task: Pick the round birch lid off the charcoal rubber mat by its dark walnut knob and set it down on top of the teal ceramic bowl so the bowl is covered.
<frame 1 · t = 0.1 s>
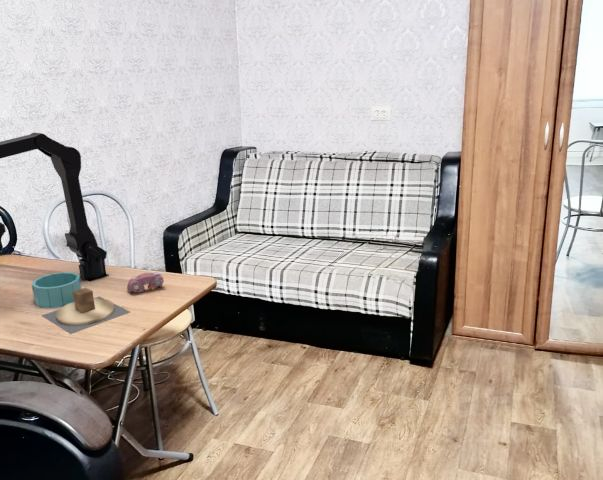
lid: (86, 313, 148), resting on mat
purple toy car: (146, 292, 163), on the table
mat: (86, 315, 148), on the table
bowl: (59, 300, 158), on the table
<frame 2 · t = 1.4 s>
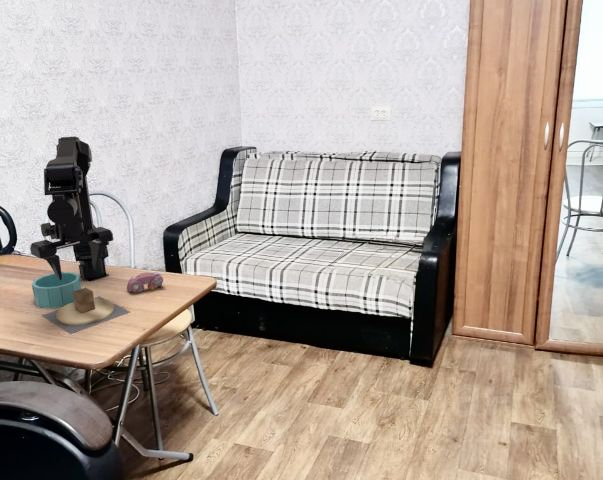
hand: (78, 274, 145), 11 cm above the table, fingers open, 9 cm apart
nothing on the table moved.
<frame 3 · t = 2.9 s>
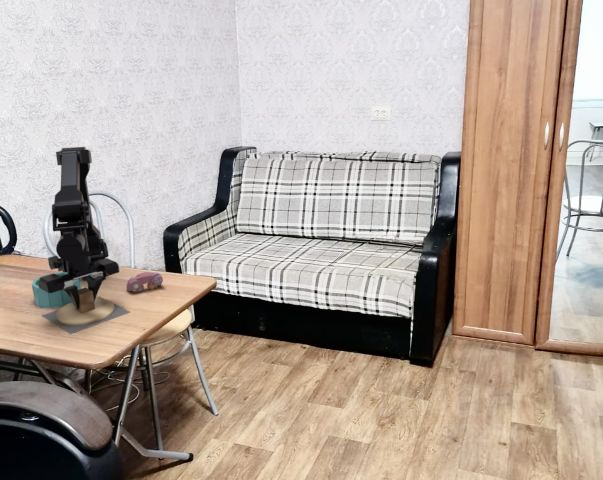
hand: (84, 306, 147), 3 cm above the table, fingers closed on lid, 3 cm apart
lid: (86, 313, 148), resting on mat, touching gripper
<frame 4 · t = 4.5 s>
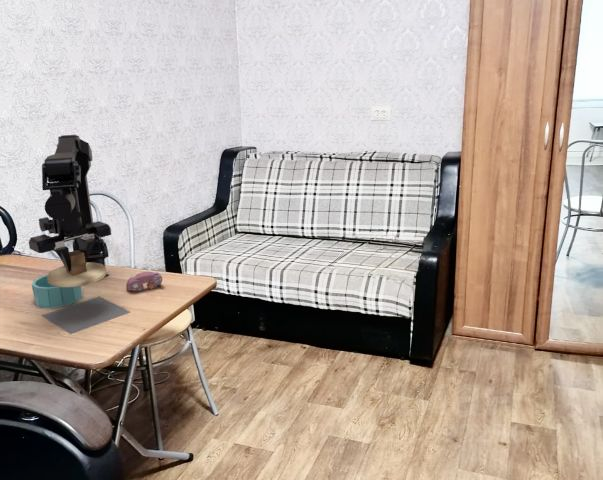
hand: (76, 268, 146), 12 cm above the table, fingers closed on lid, 3 cm apart
lid: (77, 276, 146), point 10 cm above the table, touching gripper
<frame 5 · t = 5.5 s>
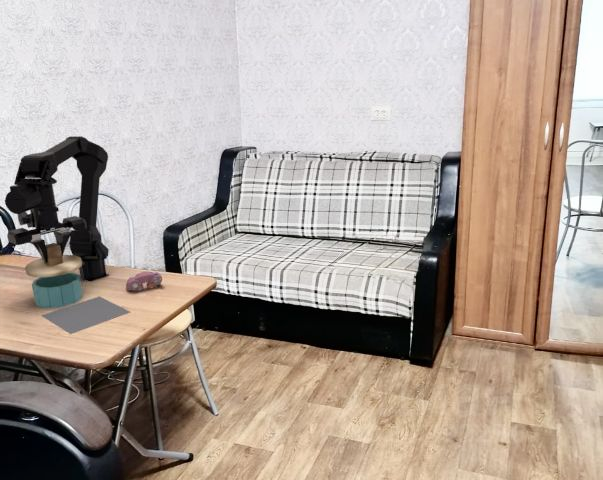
hand: (53, 260, 155), 11 cm above the table, fingers closed on lid, 3 cm apart
lid: (54, 267, 155), point 10 cm above the table, touching gripper
when the fingers open (9 cm above the table, at t = 6.0 s): lid drops 1 cm, resting on bowl.
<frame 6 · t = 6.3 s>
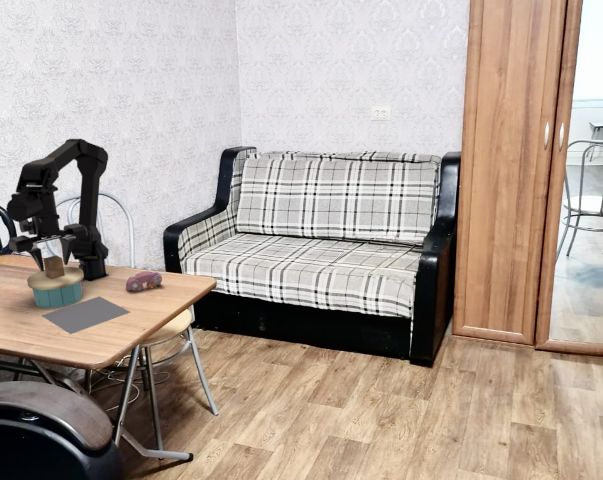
hand: (54, 267, 155), 9 cm above the table, fingers open, 6 cm apart
lid: (56, 280, 156), point 6 cm above the table, touching bowl
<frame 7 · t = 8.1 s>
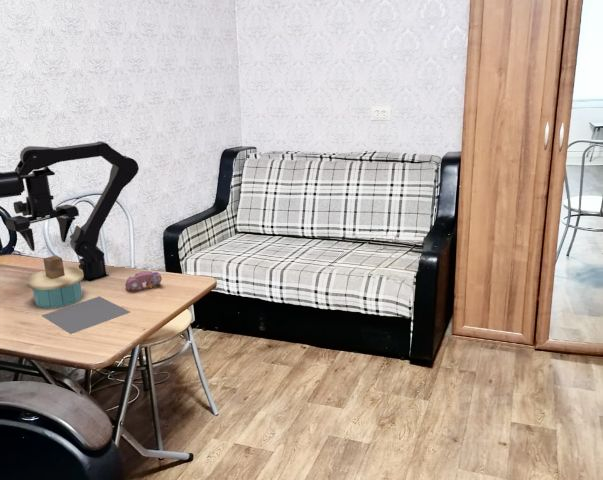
hand: (48, 246, 165), 12 cm above the table, fingers open, 9 cm apart
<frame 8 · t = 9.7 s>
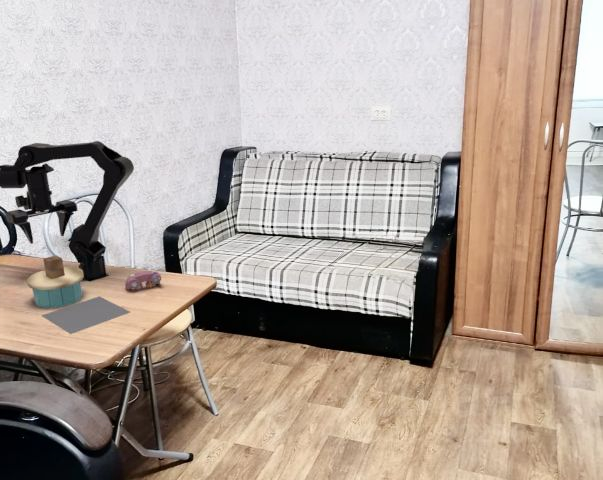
hand: (47, 239, 172), 12 cm above the table, fingers open, 9 cm apart
at the end: lid 0.0 cm off-centre on the bowl, point 6.0 cm above the bowl's base; lid tilted 0°; the gripper is holding nothing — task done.
